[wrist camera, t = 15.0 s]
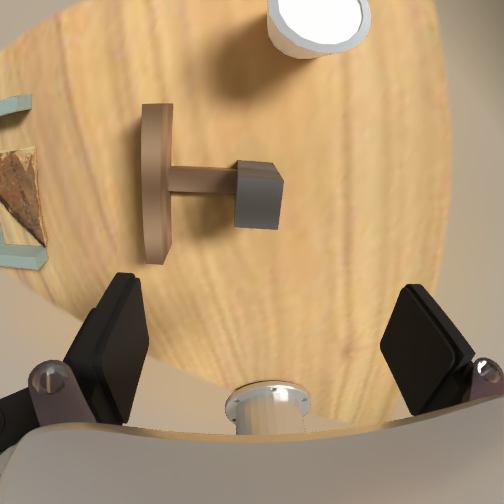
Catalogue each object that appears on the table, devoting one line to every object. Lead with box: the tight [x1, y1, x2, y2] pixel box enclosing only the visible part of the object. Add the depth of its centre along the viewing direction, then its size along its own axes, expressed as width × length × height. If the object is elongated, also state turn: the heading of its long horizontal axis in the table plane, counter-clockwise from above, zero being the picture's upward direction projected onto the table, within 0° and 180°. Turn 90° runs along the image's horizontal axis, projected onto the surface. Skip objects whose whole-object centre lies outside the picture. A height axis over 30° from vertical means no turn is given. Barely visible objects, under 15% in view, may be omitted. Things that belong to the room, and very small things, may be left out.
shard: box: [0, 146, 48, 248], centre depth 25 cm, size 11×8×2 cm
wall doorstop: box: [141, 103, 284, 265], centre depth 23 cm, size 13×10×6 cm
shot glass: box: [267, 0, 371, 59], centre depth 17 cm, size 7×7×7 cm
